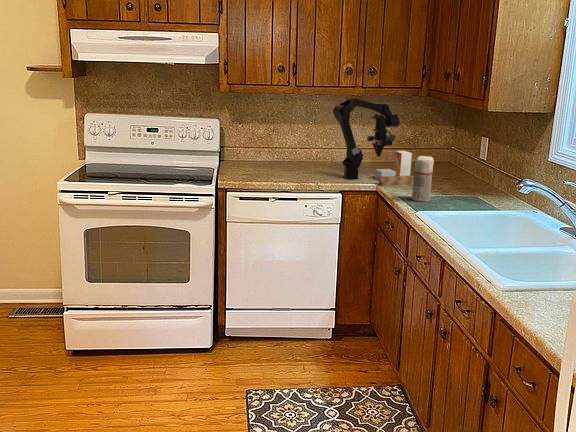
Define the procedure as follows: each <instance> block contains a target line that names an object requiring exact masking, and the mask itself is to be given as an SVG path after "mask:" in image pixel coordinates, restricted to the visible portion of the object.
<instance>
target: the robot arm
mask: <svg viewBox="0 0 576 432" xmlns="http://www.w3.org/2000/svg"><path fill="white" fill-rule="evenodd" d="M356 107H358V108H362V109H365V110H366V109H367V110H369V111H371V112H373V113H374V114H375V115H373V116H372V117H371V118H372V119H375V126H374V128H373V132H374V135H368V136H367V137H366V141H367V142H371V144H372V147H373V149H374V152H375V154H376V157H377V158H380V157H381V154H382V152H383V150H384V148H386V147H387V146H391V147H392V146H393V142H394V141H395V139H396V137H397V136H396V135H394V134H392V133H391V132H390V131H389V130H388V129H387V128H397V127H399V126H400V123H401V121H400V118H399V116H398V115H399V114H396V113H392V111H391V109H390V106H389V104H387V103H381V102H372V101H367V100H363V99H359V98H357V97H349V98H348V99H347V100H345V101H343V102H341V103H339V104H338V105H335V106H334V108H333V109H332V113H333V115H334V118H335V119H336V121H337V122H338V123H339V125H340V129H341V132H342V136H343V139H344V142H345V146H346V153H345V154H346V157H345V158H344V159H343V160H342V166H344V170H343V176H342V178H343V179H345V180H359V168H360V167H361V164H362V161H363V158H364V155H363V151H362V148H360V147H357V144H356V140H355V137H354V135H353V134H354V133H353V131H352V128H351V127H352V126H351V123H350V119H351V113H352V112H353V111H354V110H355V108H356Z"/></svg>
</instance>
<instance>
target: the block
mask: <svg viewBox="0 0 576 432" xmlns="http://www.w3.org/2000/svg"><path fill="white" fill-rule="evenodd" d="M393 170H394V169H390V168H376V169H375V170H374V179H375V180H378V181H379V177H383V176H397V175H396V172H395V171H393Z"/></svg>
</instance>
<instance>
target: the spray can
mask: <svg viewBox="0 0 576 432" xmlns="http://www.w3.org/2000/svg"><path fill="white" fill-rule="evenodd" d="M434 162H435V161H434V158H433V156H427V155H426V156H424V155H419V156H418V157H417V158H416V160H415V162H414V170H413V171H414V172H413V176H414V182H413V184H412V185H413V186H412V192H411V193H412V194H411V200H412V201H415V202H422V203H423V202H430V200H431V199H430V198H431V187H432V178H433V172H434V171H433V170H434V169H433V168H434V164H435V163H434Z"/></svg>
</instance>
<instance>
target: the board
mask: <svg viewBox="0 0 576 432" xmlns="http://www.w3.org/2000/svg"><path fill="white" fill-rule="evenodd" d="M413 182H414V175H411V174H410V175H409V176H397V175H396V176H383V177H379V180H378V185H379V186H382V187H383V186H404V185H405V186H406V185H408V186H409V185H413Z"/></svg>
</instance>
